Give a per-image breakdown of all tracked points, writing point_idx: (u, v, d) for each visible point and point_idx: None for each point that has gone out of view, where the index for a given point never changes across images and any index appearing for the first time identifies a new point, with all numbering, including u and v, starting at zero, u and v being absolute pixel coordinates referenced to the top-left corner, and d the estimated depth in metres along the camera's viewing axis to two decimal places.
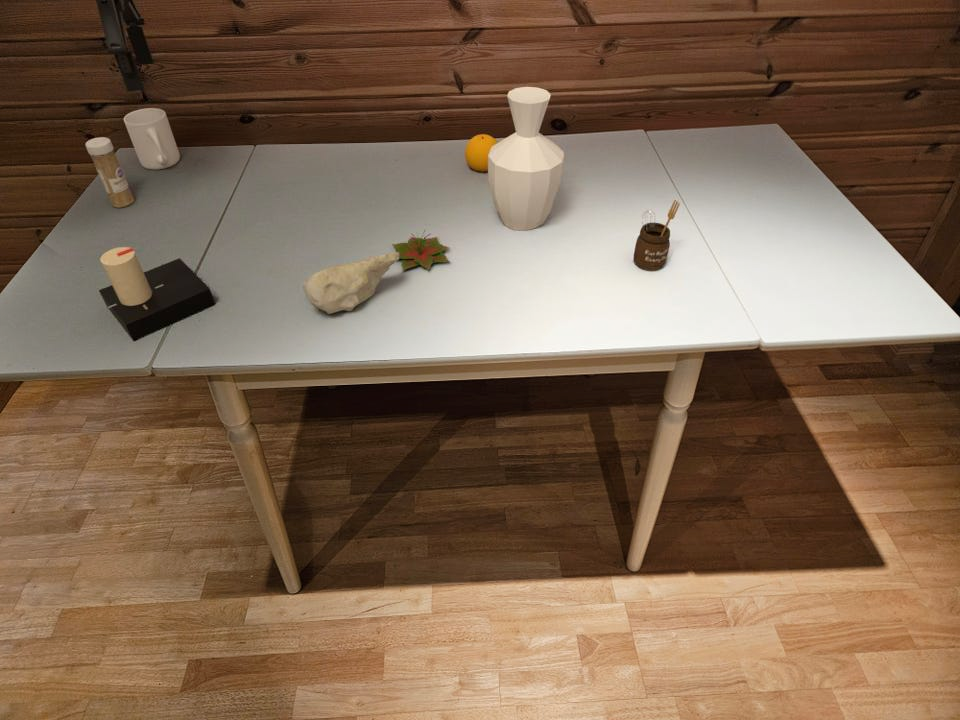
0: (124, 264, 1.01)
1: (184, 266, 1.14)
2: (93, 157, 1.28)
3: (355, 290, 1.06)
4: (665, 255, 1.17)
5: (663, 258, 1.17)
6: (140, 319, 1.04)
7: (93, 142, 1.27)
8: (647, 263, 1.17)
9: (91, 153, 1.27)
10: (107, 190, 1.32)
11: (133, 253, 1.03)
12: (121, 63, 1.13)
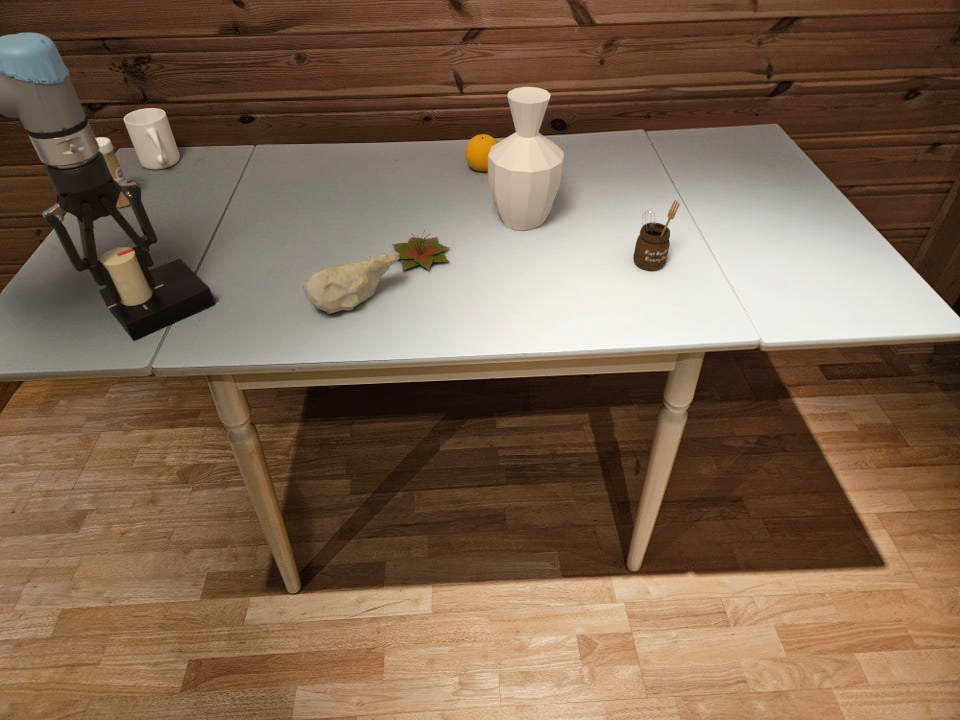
0: (124, 264, 1.01)
1: (184, 266, 1.14)
2: None
3: (355, 290, 1.06)
4: (665, 255, 1.17)
5: (663, 258, 1.17)
6: (140, 319, 1.04)
7: None
8: (647, 263, 1.17)
9: None
10: None
11: (133, 253, 1.03)
12: (92, 275, 1.01)
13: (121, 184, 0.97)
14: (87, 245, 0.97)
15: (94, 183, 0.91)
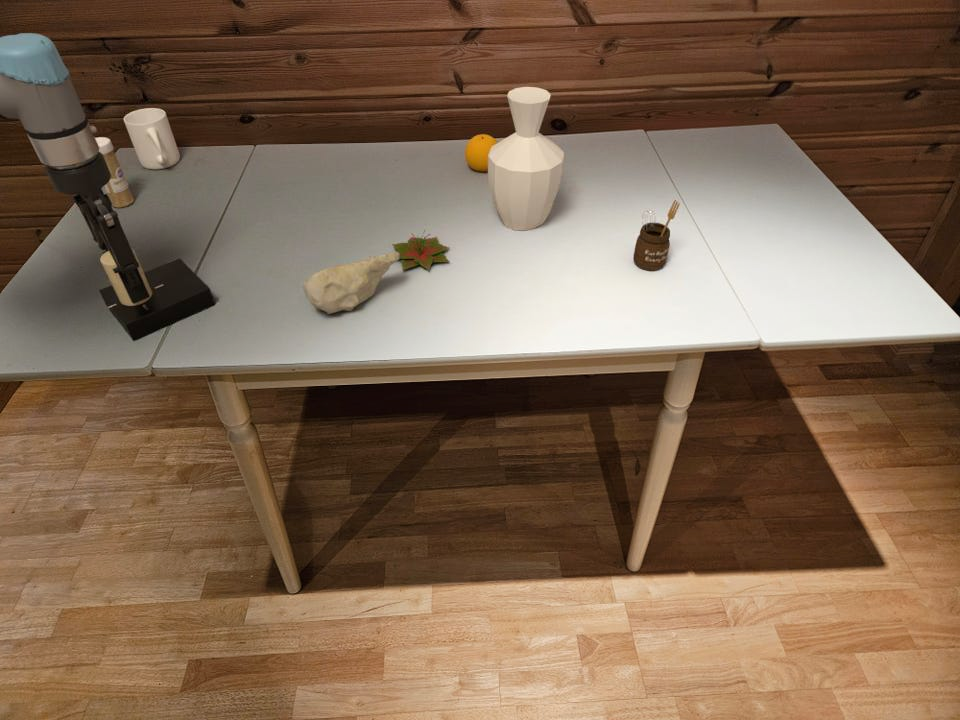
0: (134, 251, 1.04)
1: (184, 266, 1.14)
2: None
3: (355, 290, 1.06)
4: (665, 255, 1.17)
5: (663, 258, 1.17)
6: (140, 319, 1.04)
7: None
8: (647, 263, 1.17)
9: None
10: (107, 190, 1.32)
11: None
12: (130, 278, 1.01)
13: None
14: None
15: None
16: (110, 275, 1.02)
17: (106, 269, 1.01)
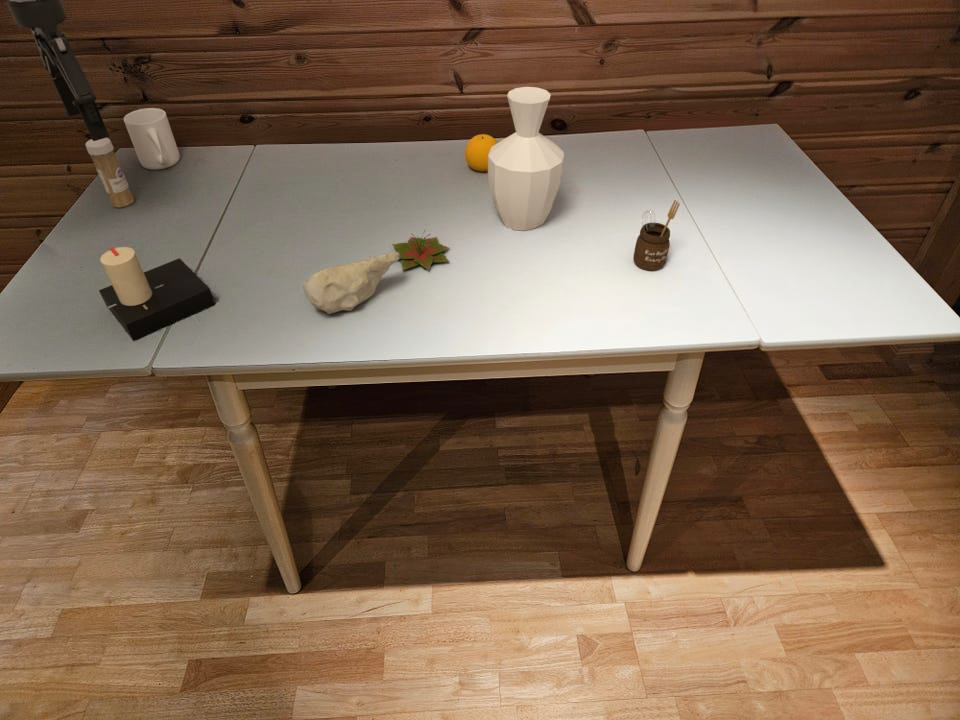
0: (134, 251, 1.04)
1: (184, 266, 1.14)
2: (93, 157, 1.28)
3: (355, 290, 1.06)
4: (665, 255, 1.17)
5: (663, 258, 1.17)
6: (140, 319, 1.04)
7: (93, 142, 1.27)
8: (647, 263, 1.17)
9: (91, 153, 1.27)
10: (107, 190, 1.32)
11: (119, 247, 1.04)
12: (88, 113, 1.10)
13: None
14: None
15: None
16: (110, 275, 1.02)
17: (106, 269, 1.01)
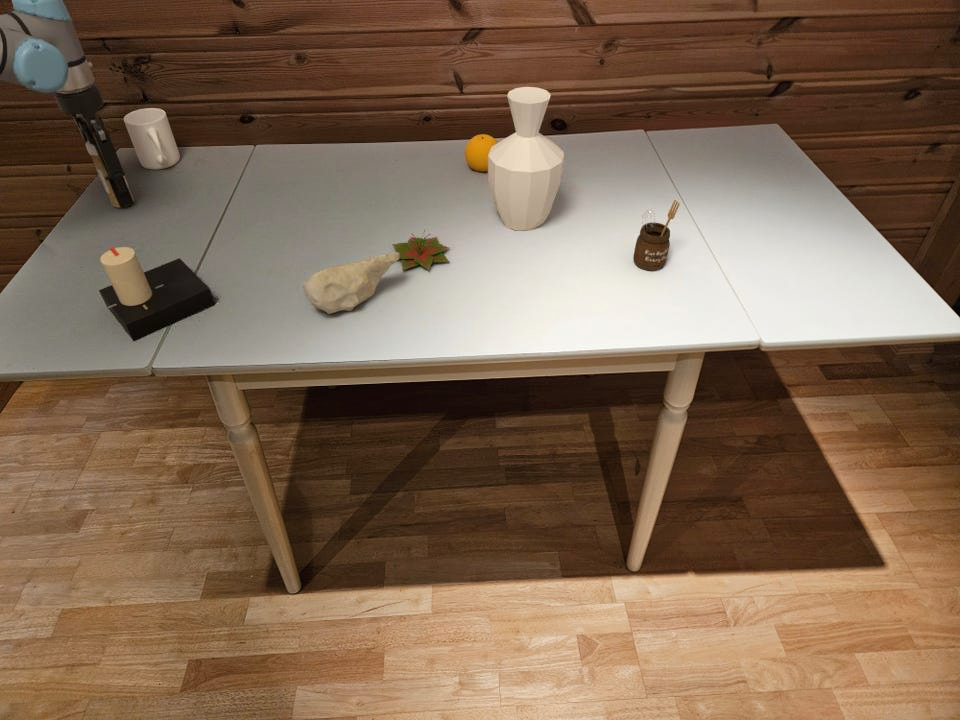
0: (134, 251, 1.04)
1: (184, 266, 1.14)
2: (93, 157, 1.28)
3: (355, 290, 1.06)
4: (665, 255, 1.17)
5: (663, 258, 1.17)
6: (140, 319, 1.04)
7: None
8: (647, 263, 1.17)
9: (91, 153, 1.27)
10: (107, 190, 1.32)
11: (119, 247, 1.04)
12: (118, 185, 1.30)
13: None
14: None
15: None
16: (110, 275, 1.02)
17: (106, 269, 1.01)
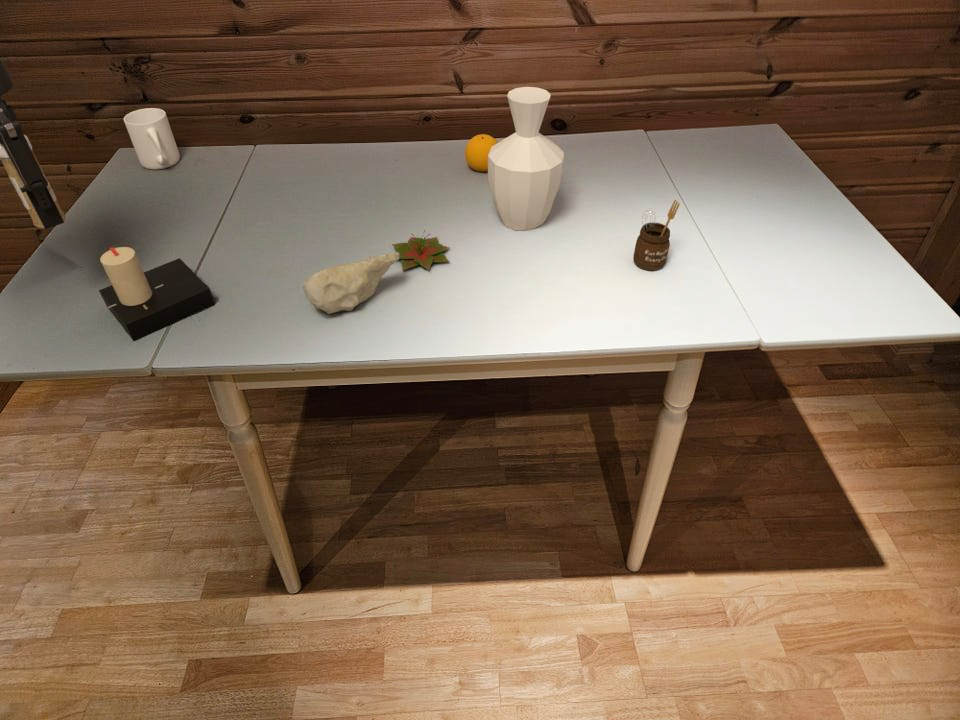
0: (134, 251, 1.04)
1: (184, 266, 1.14)
2: (3, 160, 0.93)
3: (355, 290, 1.06)
4: (665, 255, 1.17)
5: (663, 258, 1.17)
6: (140, 319, 1.04)
7: None
8: (647, 263, 1.17)
9: (0, 155, 0.92)
10: (26, 205, 0.97)
11: (119, 247, 1.04)
12: (39, 199, 0.95)
13: None
14: None
15: None
16: (110, 275, 1.02)
17: (106, 269, 1.01)
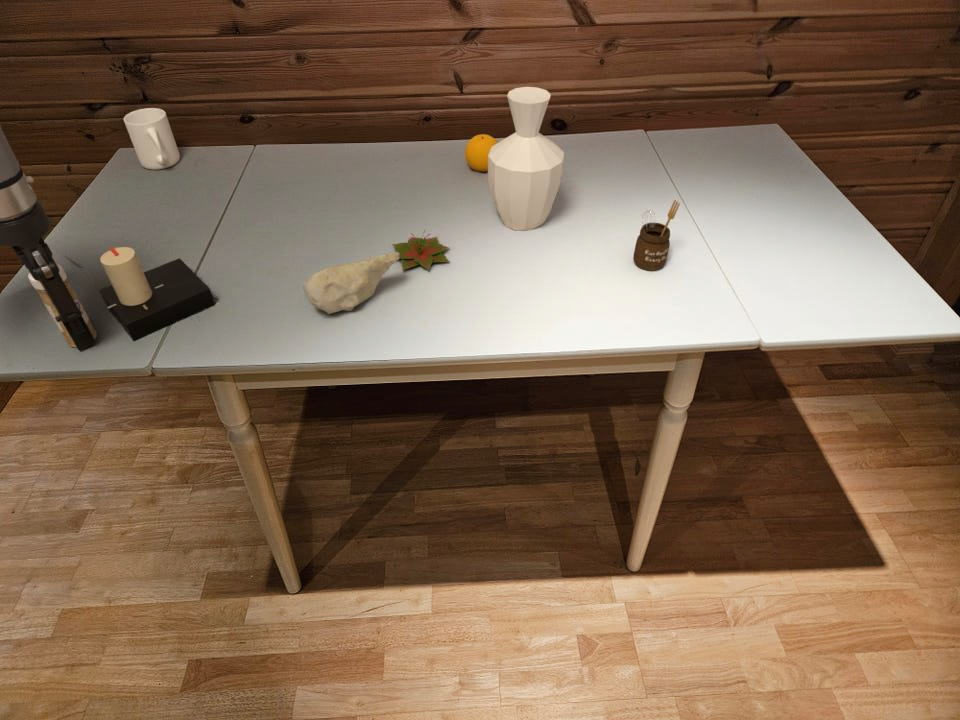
0: (134, 251, 1.04)
1: (184, 266, 1.14)
2: (39, 291, 0.96)
3: (355, 290, 1.06)
4: (665, 255, 1.17)
5: (663, 258, 1.17)
6: (140, 319, 1.04)
7: None
8: (647, 263, 1.17)
9: (36, 287, 0.96)
10: (60, 328, 1.01)
11: (119, 247, 1.04)
12: (73, 326, 0.99)
13: None
14: None
15: None
16: (110, 275, 1.02)
17: (106, 269, 1.01)
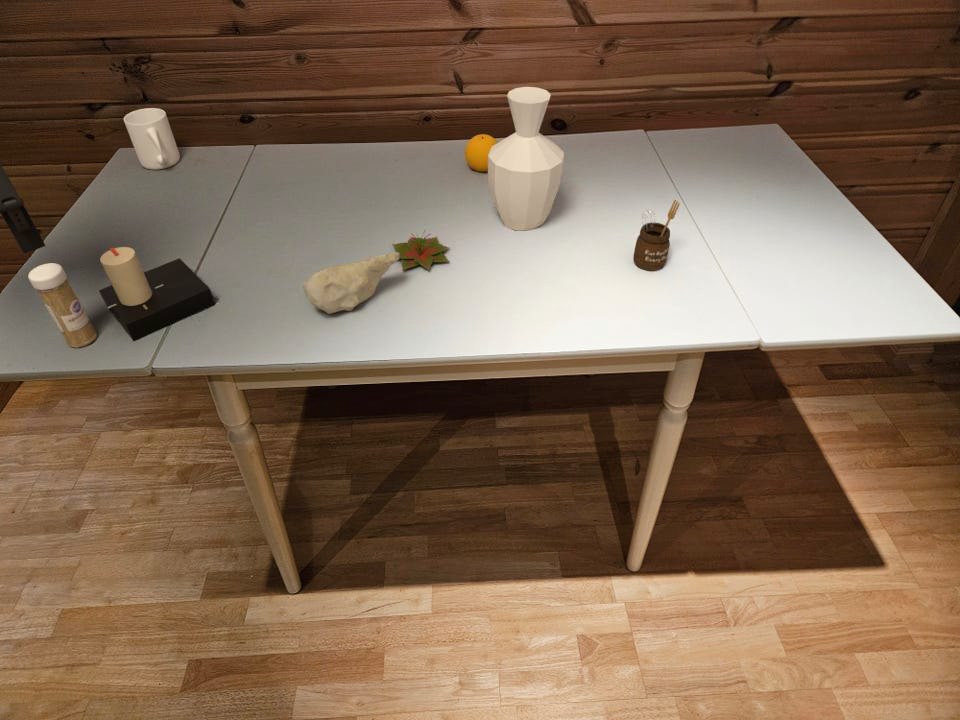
0: (134, 251, 1.04)
1: (184, 266, 1.14)
2: (39, 291, 0.96)
3: (355, 290, 1.06)
4: (665, 255, 1.17)
5: (663, 258, 1.17)
6: (140, 319, 1.04)
7: (39, 272, 0.96)
8: (647, 263, 1.17)
9: (36, 287, 0.96)
10: (60, 328, 1.01)
11: (119, 247, 1.04)
12: (15, 220, 0.83)
13: None
14: None
15: None
16: (110, 275, 1.02)
17: (106, 269, 1.01)
